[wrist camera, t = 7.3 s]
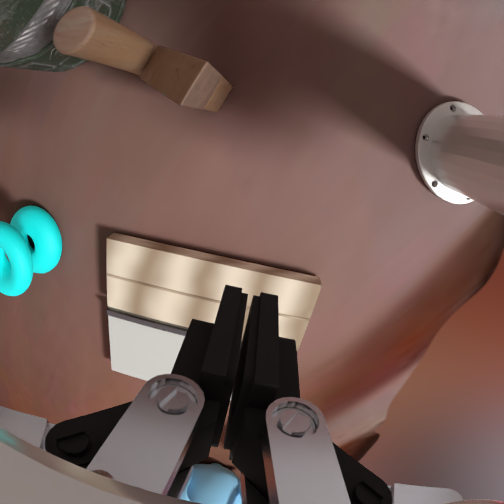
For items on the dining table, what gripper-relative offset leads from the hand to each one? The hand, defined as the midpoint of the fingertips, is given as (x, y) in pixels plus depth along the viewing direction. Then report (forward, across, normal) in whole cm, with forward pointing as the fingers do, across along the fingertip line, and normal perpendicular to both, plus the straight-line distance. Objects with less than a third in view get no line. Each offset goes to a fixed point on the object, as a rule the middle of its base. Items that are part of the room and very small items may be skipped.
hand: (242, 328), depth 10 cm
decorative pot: (+27, -2, +62) cm, 68 cm away
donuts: (+27, +30, +13) cm, 43 cm away
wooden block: (+27, +11, -10) cm, 31 cm away
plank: (+27, +4, +15) cm, 31 cm away
